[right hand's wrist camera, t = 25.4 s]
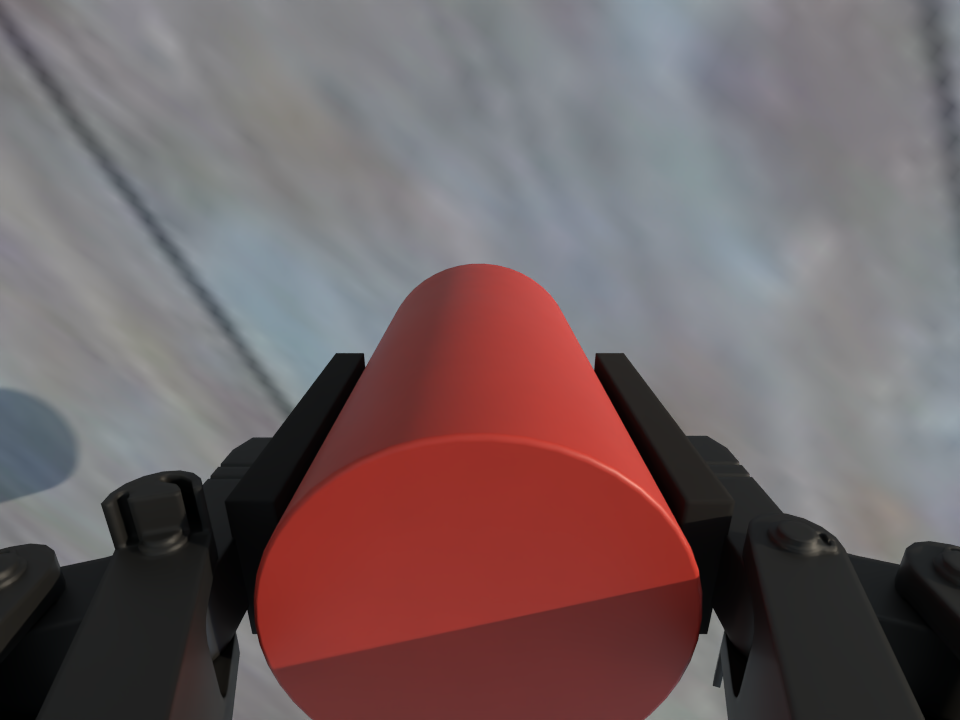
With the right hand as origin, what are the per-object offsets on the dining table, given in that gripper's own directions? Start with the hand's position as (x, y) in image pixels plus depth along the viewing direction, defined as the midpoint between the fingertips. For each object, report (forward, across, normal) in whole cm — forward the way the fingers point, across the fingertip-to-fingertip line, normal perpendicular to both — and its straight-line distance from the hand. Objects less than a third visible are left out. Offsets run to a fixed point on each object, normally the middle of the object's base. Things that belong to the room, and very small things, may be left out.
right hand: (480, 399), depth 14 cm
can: (+4, 0, 0) cm, 4 cm away
